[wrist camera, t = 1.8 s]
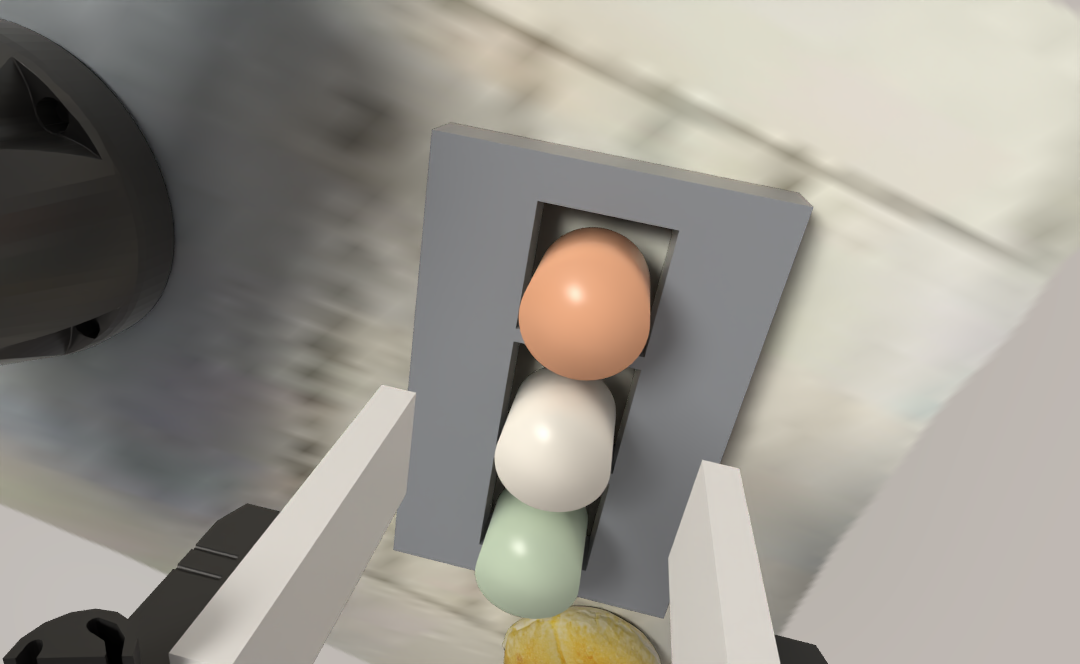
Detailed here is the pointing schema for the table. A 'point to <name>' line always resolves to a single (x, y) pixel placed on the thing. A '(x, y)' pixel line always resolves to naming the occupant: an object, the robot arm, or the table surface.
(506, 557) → the pale green rounded dome
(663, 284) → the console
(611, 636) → the bread roll
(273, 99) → the table surface
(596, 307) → the brown egg
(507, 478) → the cream button
